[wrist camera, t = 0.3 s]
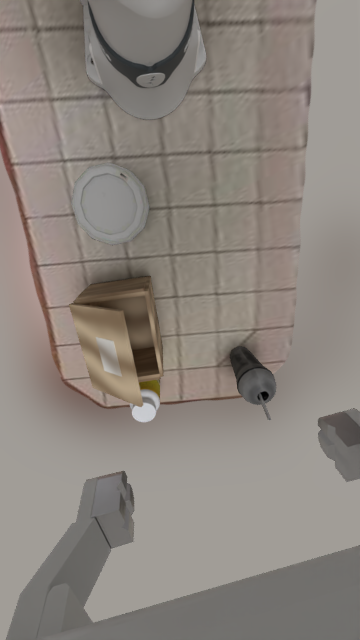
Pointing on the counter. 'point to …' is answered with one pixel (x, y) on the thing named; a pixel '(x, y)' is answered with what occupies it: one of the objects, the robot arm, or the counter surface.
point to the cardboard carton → (133, 319)
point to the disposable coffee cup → (110, 203)
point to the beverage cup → (252, 378)
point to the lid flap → (107, 351)
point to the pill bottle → (147, 401)
